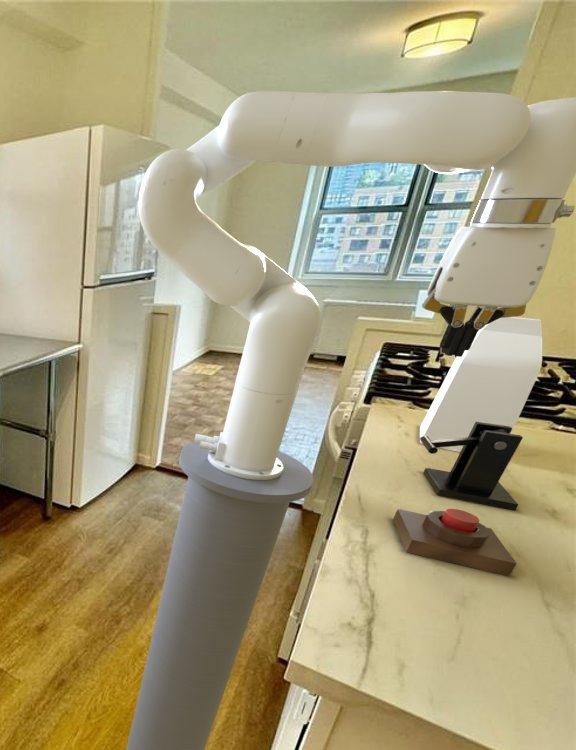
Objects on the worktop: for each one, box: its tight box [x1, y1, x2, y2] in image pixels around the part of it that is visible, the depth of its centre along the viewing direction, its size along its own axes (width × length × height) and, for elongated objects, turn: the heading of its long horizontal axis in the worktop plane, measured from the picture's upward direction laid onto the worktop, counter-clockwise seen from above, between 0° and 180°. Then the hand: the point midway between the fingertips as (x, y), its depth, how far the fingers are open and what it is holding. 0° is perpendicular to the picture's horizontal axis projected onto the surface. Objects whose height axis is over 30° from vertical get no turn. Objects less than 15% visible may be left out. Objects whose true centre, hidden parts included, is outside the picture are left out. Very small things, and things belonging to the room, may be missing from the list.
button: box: [440, 508, 480, 533], centre depth 68 cm, size 4×4×2 cm
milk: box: [419, 316, 543, 453], centre depth 96 cm, size 12×12×26 cm
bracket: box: [422, 422, 524, 511], centre depth 82 cm, size 10×9×12 cm
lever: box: [419, 429, 506, 455], centre depth 82 cm, size 10×6×2 cm, turn 62°
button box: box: [392, 508, 518, 577], centre depth 69 cm, size 11×9×4 cm
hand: (451, 353), depth 71 cm, fingers closed
